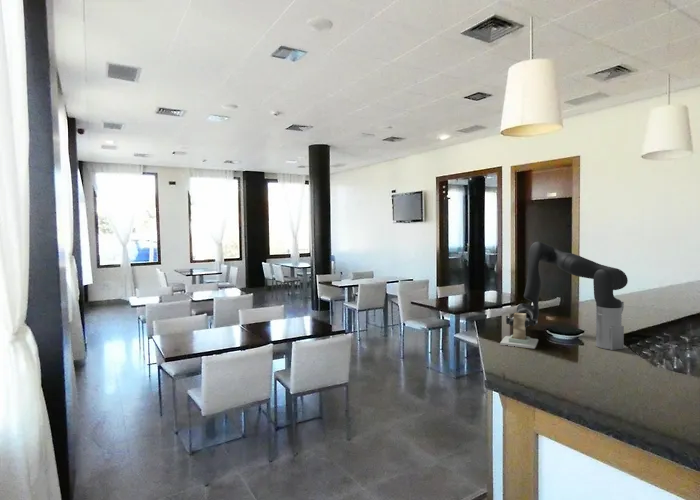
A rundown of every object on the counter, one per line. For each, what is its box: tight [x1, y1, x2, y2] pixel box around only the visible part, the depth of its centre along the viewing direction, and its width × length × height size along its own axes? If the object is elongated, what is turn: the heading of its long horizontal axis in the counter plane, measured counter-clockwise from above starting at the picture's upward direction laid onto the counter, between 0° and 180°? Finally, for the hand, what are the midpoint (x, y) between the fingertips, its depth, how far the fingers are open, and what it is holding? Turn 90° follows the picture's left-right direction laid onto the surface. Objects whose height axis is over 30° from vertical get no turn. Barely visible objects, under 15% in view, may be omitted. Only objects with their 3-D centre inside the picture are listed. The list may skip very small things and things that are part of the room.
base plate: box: [499, 334, 539, 350], centre depth 188 cm, size 14×14×2 cm
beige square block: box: [512, 312, 527, 340], centre depth 187 cm, size 5×5×12 cm
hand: (518, 324), depth 185 cm, fingers open, 5 cm apart
